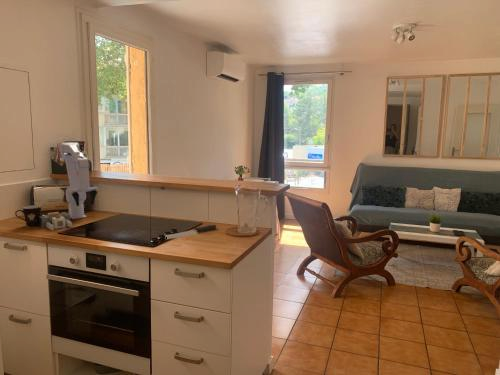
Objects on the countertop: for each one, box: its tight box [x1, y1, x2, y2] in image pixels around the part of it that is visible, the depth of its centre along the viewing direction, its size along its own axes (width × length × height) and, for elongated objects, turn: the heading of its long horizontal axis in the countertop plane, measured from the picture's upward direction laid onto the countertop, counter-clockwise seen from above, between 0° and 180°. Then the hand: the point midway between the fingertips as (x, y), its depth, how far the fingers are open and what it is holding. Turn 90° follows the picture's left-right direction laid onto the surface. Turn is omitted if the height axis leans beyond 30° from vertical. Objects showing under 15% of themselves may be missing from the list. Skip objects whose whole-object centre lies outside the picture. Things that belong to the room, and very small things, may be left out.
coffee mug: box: [14, 205, 42, 228], centre depth 204 cm, size 12×9×10 cm
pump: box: [52, 216, 66, 230], centre depth 200 cm, size 6×5×6 cm
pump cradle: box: [45, 220, 73, 231], centre depth 200 cm, size 9×11×2 cm
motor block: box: [38, 211, 71, 229], centre depth 205 cm, size 6×14×6 cm, turn 133°
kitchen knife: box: [165, 224, 217, 240], centre depth 189 cm, size 29×3×5 cm
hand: (85, 205), depth 209 cm, fingers open, 7 cm apart
